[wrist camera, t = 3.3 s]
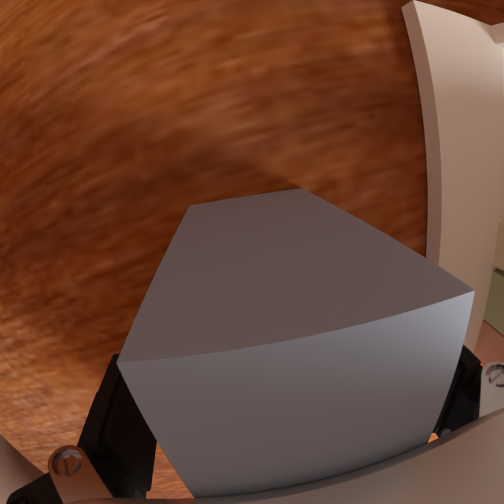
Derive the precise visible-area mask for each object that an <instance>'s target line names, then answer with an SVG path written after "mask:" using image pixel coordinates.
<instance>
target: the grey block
mask: <svg viewBox="0 0 504 504" xmlns="http://www.w3.org/2000/svg"><path fill="white" fill-rule="evenodd" d="M474 293H475V290H474V289H472V288H471V287H469V286H468V285H466V284H465V283H464V282H462V281H461V280H459V279H458V278H456V277H455V276H453V275H451V274H450V273H448V272H447V271H445V270H444V269H442V268H441V267H439V266H438V265H436V264H434V263H433V262H431V261H430V260H428V259H427V258H425V257H423V256H422V255H420V254H419V253H417V252H415V251H414V250H412V249H410V248H409V247H407V246H405V245H404V244H402V243H400V242H399V241H397V240H395V239H394V238H392V237H390V236H389V235H387V234H385V233H383V232H382V231H380V230H378V229H377V228H375V227H373V226H371V225H370V224H368V223H366V222H364V221H362V220H361V219H359V218H357V217H355V216H354V215H352V214H350V213H348V212H346V211H344V210H343V209H341V208H339V207H337V206H335V205H333V204H331V203H330V202H328V201H326V200H324V199H322V198H320V197H318V196H316V195H314V194H312V193H310V192H309V191H307V190H305V189H303V188H300V189H292V190H285V191H278V192H270V193H264V194H257V195H250V196H244V197H237V198H231V199H225V200H219V201H213V202H207V203H201V204H195V205H190V206H189V207H188V209H187V211H186V213H185V215H184V217H183V219H182V221H181V223H180V225H179V227H178V229H177V230H176V232H175V234H174V236H173V238H172V240H171V242H170V244H169V246H168V248H167V251H166V253H165V255H164V257H163V259H162V261H161V263H160V265H159V267H158V269H157V271H156V273H155V275H154V278H153V280H152V282H151V284H150V286H149V288H148V290H147V293H146V295H145V297H144V299H143V301H142V304H141V306H140V308H139V310H138V313H137V315H136V317H135V319H134V322H133V324H132V326H131V329H130V331H129V333H128V336H127V338H126V341H125V343H124V345H123V348H122V350H121V353H120V355H119V358H118V360H117V362H116V363H117V365H118V367H119V370H120V372H121V374H122V376H123V378H124V380H125V382H126V384H127V386H128V388H129V390H130V392H131V394H132V396H133V398H134V400H135V402H136V404H137V406H138V408H139V410H140V412H141V413H142V415H143V417H144V419H145V421H146V423H147V424H148V426H149V428H150V430H151V431H152V433H153V435H154V437H155V438H156V440H157V442H158V443H159V445H160V447H161V448H162V450H163V452H164V453H165V455H166V456H167V458H168V460H169V461H170V463H171V464H172V466H173V467H174V469H175V470H176V472H177V473H178V475H179V476H180V478H181V479H182V481H183V482H184V484H185V485H186V487H187V488H188V489H189V491H190V492H191V494H192V495H193V496H194V498H209V497H223V496H233V495H242V494H250V493H258V492H264V491H271V490H277V489H282V488H288V487H293V486H298V485H302V484H307V483H311V482H316V481H320V480H324V479H328V478H331V477H335V476H339V475H342V474H346V473H349V472H352V471H356V470H359V469H362V468H365V467H368V466H371V465H374V464H377V463H380V462H383V461H385V460H388V459H391V458H393V457H396V456H399V455H401V454H404V453H406V452H408V451H411V450H413V449H416V448H418V447H420V446H422V445H425V444H427V443H428V441H429V438H430V436H431V434H432V432H433V429H434V427H435V425H436V422H437V420H438V417H439V415H440V412H441V410H442V407H443V405H444V402H445V399H446V397H447V394H448V391H449V388H450V385H451V382H452V379H453V376H454V373H455V370H456V367H457V364H458V360H459V357H460V353H461V350H462V346H463V342H464V338H465V335H466V331H467V326H468V322H469V318H470V313H471V308H472V303H473V298H474Z"/></svg>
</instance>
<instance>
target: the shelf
mask: <svg viewBox="0 0 504 504" xmlns="http://www.w3.org/2000/svg"><path fill="white" fill-rule="evenodd" d="M401 9H402V13H403V16H404V20H405V24H406V28H407V32H408V36H409V40H410V44H411V49H412V54H413V58H414V63H415V69H416V74H417V80H418V86H419V93H420V99H421V107H422V115H423V124H424V134H425V146H426V162H427V188H428V220H427V247H426V258H427V259H428V260H430V261H431V262H433V263H434V264H436V265H438V266H439V267H441V268H442V269H444V270H445V271H447V272H448V273H450V274H451V275H453V276H455V277H456V278H458V279H459V280H461V281H462V282H464V283H465V284H466V285H468V286H469V287H471V288H472V289H474V290H475V293H474V298H473V303H472V308H471V313H470V318H469V322H468V326H467V331H466V335H465V338H464V342H463V344H464V345H465V346H466V347H467V348H468V349H469V350H470V351H471V352H472V353H473V354H474V355H475V356H476V357H477V358H478V359H479V360H480V361H481V364H482V365H483V366H485V365H487V364H488V363H490V362H494V361H500V362H504V22H503V23H499V24H496V25H492V26H490V25H487V24H485V23H483V22H480V21H478V20H475V19H472V18H470V17H467V16H464V15H462V14H459V13H456V12H453V11H450V10H447V9H443V8H440V7H437V6H433V5H430V4H426V3H423V2H419V1H415V0H412V1H411V2H409V3H407V4H406V5H404V6H403V7H401Z"/></svg>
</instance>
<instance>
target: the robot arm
mask: <svg viewBox="0 0 504 504" xmlns="http://www.w3.org/2000/svg"><path fill="white" fill-rule="evenodd" d="M119 355H120V354H114V355H113V356H112V359H111V361H110V363H109V366H108V368H107V371H106V373H105V376H104V378H103V381H102V383H101V386H100V388H99V391H98V392H97V393H96V395H95V398H94V400H93V403H92V406H91V408H90V411H89V414H88V416H87V419H86V422H85V425H84V427H83V430H82V433H81V436H80V439H79V442H78V444H77V446H73V445H66V446H63V447H60V448H58V449H57V450H55V451H54V452H53V453H52V455H51V456H50V458H49V460H48V470H49V472H48V473H46V474H45V475H43V476H41V477H40V478H38V479H36V480H34V481H33V482H31V483H29V484H27V485H25V486H24V487H22V488H20V489H18V490H16V491H15V492H13V493H12V494H11V495H10V497H9V498H8V500H7V503H6V504H504V362H500V361H494V362H490V363H488V364H487V365H485V366H484V368H483V367H482V366H481V365H480V363H481V361H480V360H479V359H478V358H477V357H476V356H475V355H474V354H473V353H472V352H471V351H470V350H469V349H468V348H467V347H466V346H465V345H464V344H463V346H462V350H461V353H460V357H459V360H458V364H457V367H456V370H455V373H454V376H453V379H452V382H451V385H450V388H449V391H448V394H447V397H446V399H445V402H444V405H443V407H442V410H441V412H440V415H439V417H438V420H437V422H436V425H435V427H434V429H433V432H432V433H436V434H437V436H438V439H436V440H433V441H431V442H429V443H427V444H425V445H422V446H420V447H418V448H416V449H413V450H411V451H408V452H406V453H404V454H401V455H399V456H396V457H393V458H391V459H388V460H385V461H383V462H380V463H377V464H374V465H371V466H368V467H365V468H362V469H359V470H356V471H352V472H349V473H346V474H342V475H339V476H335V477H331V478H328V479H324V480H320V481H316V482H311V483H307V484H302V485H298V486H293V487H288V488H282V489H277V490H271V491H264V492H258V493H250V494H242V495H233V496H223V497H209V498H186V499H146V491H150V489H151V484H152V475H153V467H154V459H155V451H156V444H157V440H156V438H155V437H154V435H153V433H152V431H151V430H150V428H149V426H148V424H147V423H146V421H145V419H144V417H143V415H142V413H141V412H140V410H139V408H138V406H137V404H136V402H135V400H134V398H133V396H132V394H131V392H130V390H129V388H128V386H127V384H126V382H125V380H124V378H123V376H122V374H121V372H120V370H119V367H118V365H117V363H116V362H117V360H118V358H119Z"/></svg>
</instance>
